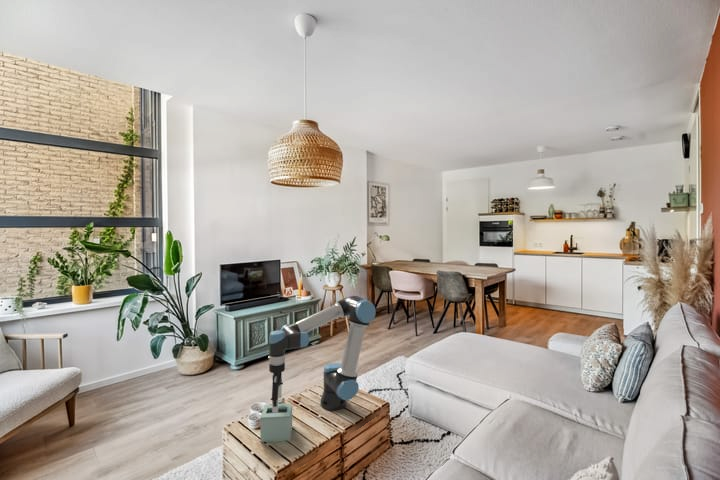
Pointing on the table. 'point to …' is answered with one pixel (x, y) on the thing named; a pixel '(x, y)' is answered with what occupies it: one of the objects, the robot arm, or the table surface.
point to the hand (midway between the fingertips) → (277, 404)
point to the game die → (281, 401)
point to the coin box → (276, 423)
